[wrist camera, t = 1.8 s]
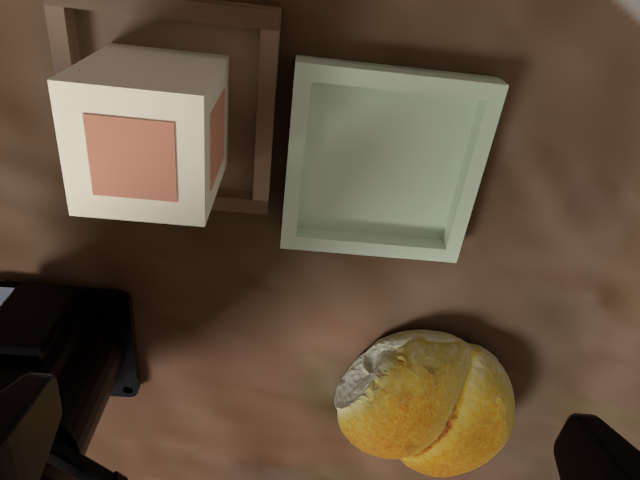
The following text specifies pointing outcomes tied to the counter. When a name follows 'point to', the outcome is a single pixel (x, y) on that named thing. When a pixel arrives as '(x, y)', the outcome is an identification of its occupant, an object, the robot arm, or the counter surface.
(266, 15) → the walnut tray
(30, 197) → the counter surface
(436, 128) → the green tray
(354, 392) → the bread roll
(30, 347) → the robot arm
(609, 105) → the counter surface
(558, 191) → the counter surface
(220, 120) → the letter block
